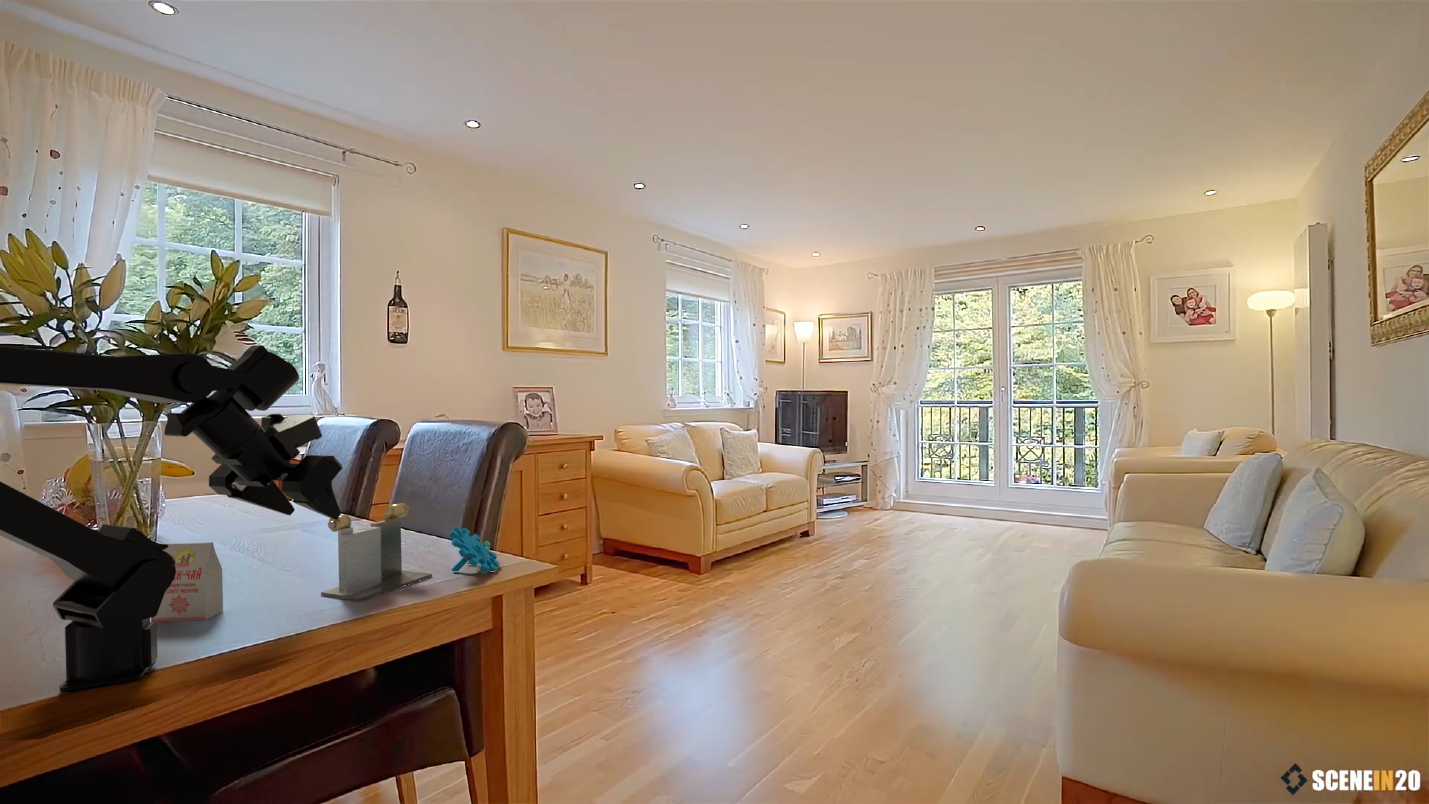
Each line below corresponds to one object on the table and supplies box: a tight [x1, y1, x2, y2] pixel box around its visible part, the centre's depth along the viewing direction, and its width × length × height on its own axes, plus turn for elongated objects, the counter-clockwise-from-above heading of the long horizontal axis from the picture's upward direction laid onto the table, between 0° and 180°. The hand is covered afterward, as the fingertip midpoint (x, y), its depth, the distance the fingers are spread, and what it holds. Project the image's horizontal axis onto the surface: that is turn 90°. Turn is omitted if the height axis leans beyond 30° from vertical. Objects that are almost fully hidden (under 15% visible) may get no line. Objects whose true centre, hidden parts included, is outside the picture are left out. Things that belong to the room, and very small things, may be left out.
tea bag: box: [150, 541, 224, 623], centre depth 91 cm, size 4×7×10 cm, turn 94°
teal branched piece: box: [448, 526, 500, 574], centre depth 112 cm, size 11×6×10 cm
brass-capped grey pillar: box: [327, 514, 382, 594], centre depth 100 cm, size 7×4×11 cm, turn 158°
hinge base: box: [320, 502, 433, 602], centre depth 104 cm, size 14×8×12 cm, turn 158°
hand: (314, 514), depth 93 cm, fingers open, 9 cm apart
